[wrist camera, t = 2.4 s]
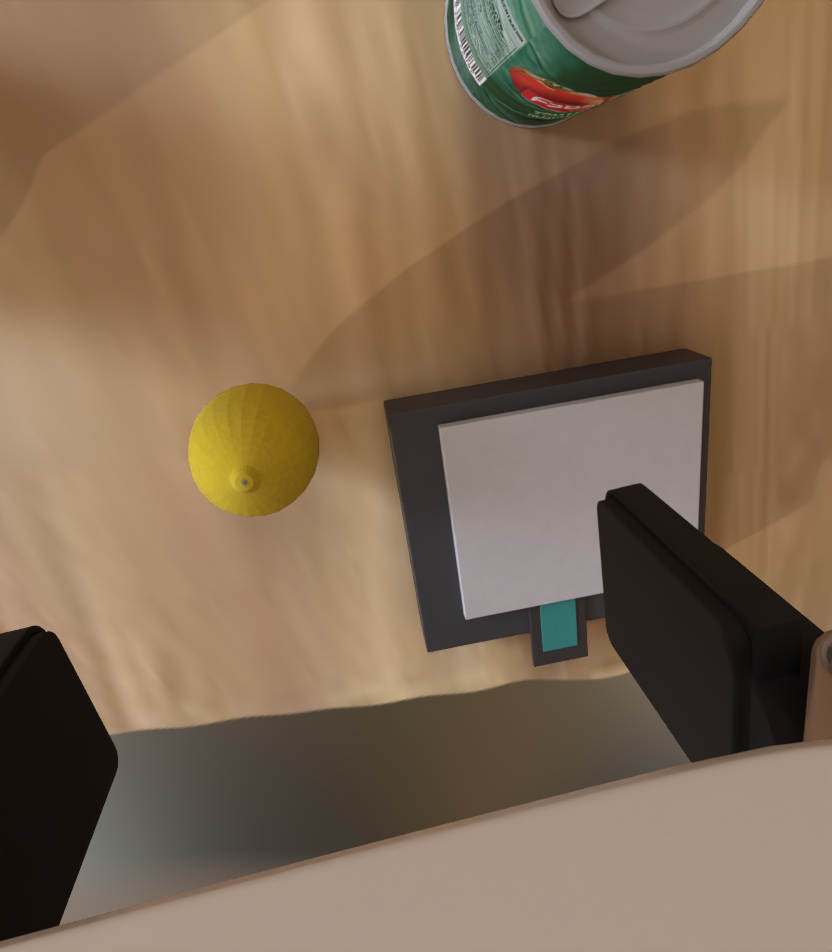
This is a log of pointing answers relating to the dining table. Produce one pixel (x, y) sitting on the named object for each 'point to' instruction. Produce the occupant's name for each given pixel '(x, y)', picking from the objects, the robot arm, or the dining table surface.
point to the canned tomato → (578, 50)
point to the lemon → (253, 450)
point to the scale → (539, 490)
